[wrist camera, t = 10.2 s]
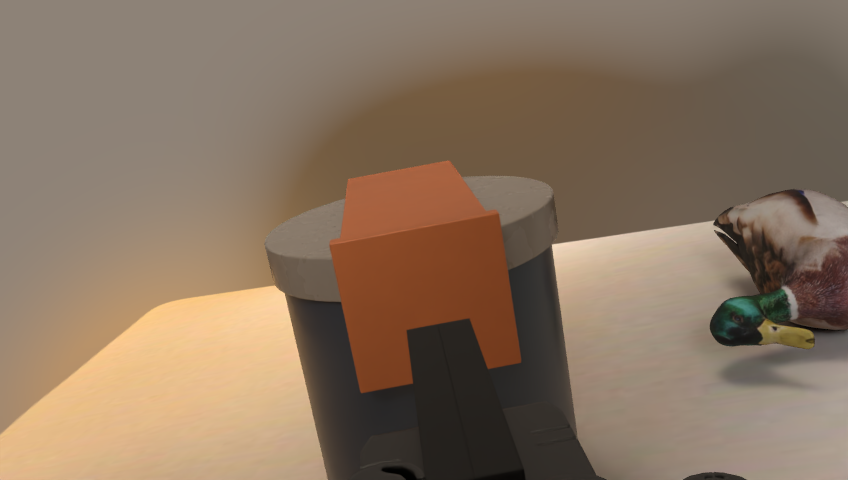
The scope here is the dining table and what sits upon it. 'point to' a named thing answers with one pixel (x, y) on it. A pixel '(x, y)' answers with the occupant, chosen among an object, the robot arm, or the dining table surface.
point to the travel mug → (395, 407)
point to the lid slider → (419, 269)
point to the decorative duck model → (786, 268)
